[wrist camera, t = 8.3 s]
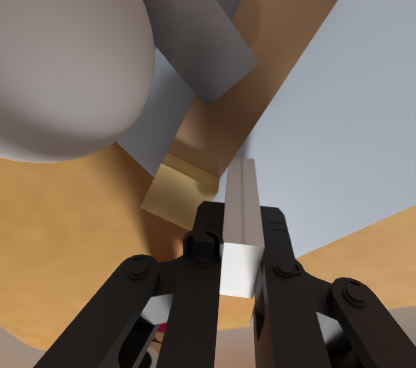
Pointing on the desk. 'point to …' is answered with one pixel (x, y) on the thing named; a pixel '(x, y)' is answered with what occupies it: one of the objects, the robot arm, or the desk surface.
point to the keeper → (200, 45)
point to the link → (233, 107)
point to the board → (319, 124)
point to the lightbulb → (71, 75)
